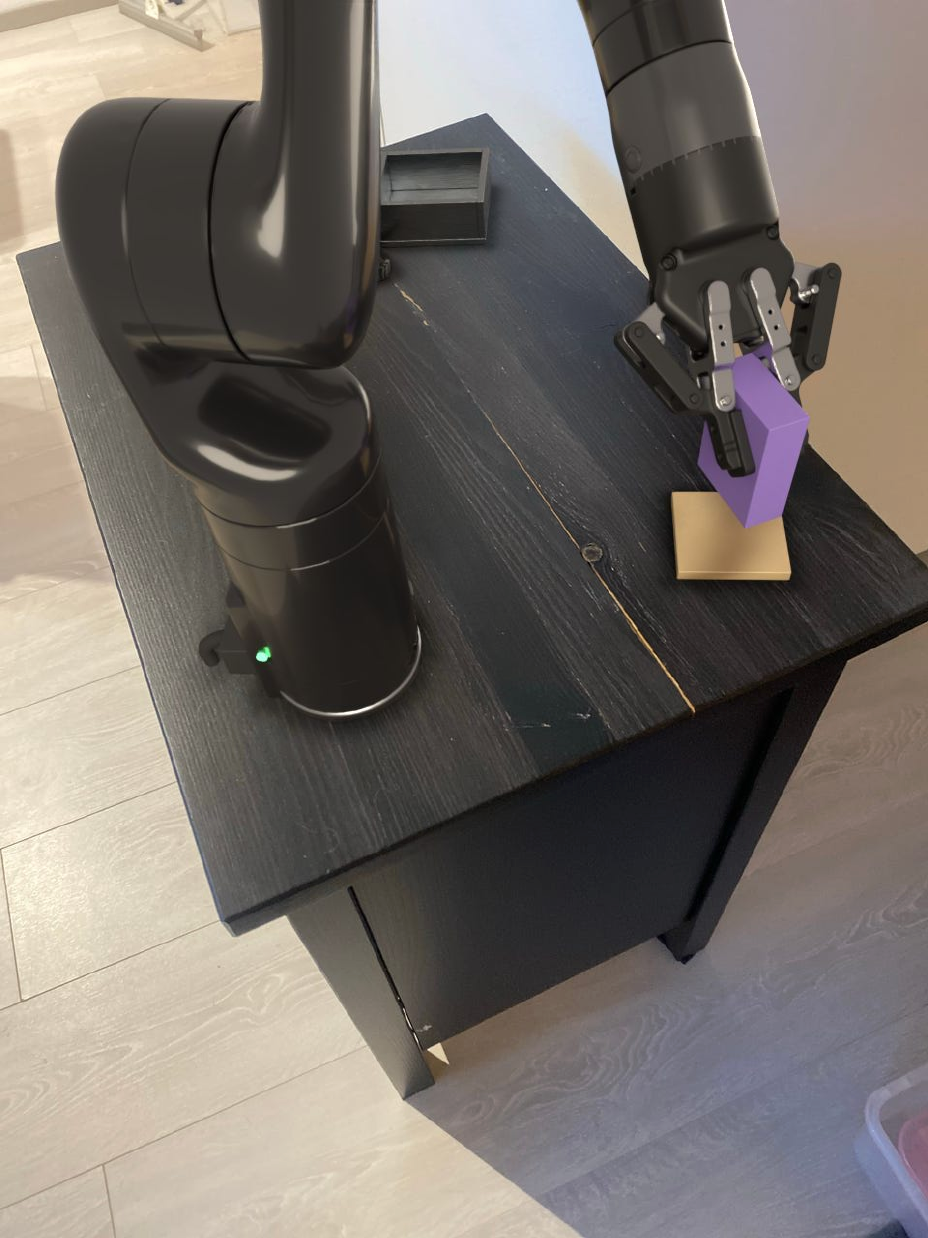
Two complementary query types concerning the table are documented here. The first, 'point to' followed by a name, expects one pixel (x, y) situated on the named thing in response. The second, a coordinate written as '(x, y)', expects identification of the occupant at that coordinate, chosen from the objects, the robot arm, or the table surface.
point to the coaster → (724, 542)
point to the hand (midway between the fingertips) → (766, 466)
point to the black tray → (435, 197)
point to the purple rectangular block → (759, 445)
